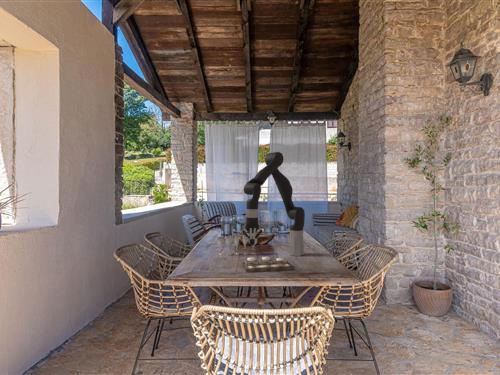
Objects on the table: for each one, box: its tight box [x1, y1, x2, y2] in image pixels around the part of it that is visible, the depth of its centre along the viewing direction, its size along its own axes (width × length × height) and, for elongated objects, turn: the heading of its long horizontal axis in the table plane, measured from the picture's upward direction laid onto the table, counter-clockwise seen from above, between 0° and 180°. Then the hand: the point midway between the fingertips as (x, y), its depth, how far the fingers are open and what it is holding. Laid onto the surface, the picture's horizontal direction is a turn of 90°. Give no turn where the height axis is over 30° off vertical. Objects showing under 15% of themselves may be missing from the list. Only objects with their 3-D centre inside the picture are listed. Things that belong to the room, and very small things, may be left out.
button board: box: [241, 257, 294, 273], centre depth 227 cm, size 28×16×4 cm, turn 101°
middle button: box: [261, 256, 271, 261], centre depth 229 cm, size 5×5×2 cm
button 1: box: [246, 256, 257, 262], centre depth 227 cm, size 5×5×2 cm
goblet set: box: [216, 234, 258, 256], centre depth 263 cm, size 28×6×13 cm, turn 92°
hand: (252, 245), depth 226 cm, fingers closed
